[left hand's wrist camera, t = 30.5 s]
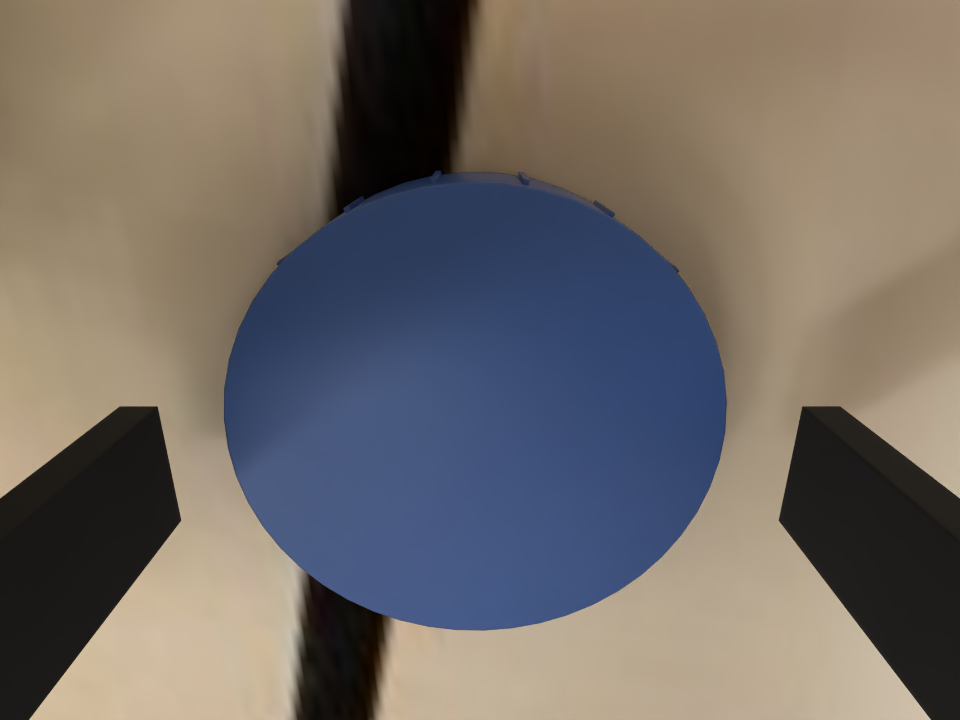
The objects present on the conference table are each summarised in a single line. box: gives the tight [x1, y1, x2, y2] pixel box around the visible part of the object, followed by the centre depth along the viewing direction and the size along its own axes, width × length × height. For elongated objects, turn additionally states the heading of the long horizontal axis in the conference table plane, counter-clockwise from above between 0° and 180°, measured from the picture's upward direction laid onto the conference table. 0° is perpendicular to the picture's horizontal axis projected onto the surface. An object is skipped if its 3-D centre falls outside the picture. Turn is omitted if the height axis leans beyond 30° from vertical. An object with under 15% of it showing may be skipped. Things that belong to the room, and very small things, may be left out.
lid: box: [224, 171, 727, 630], centre depth 13 cm, size 10×10×2 cm
